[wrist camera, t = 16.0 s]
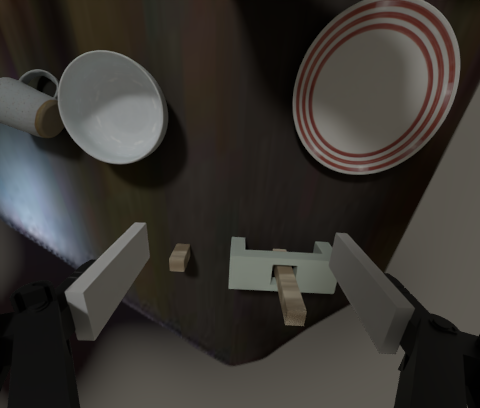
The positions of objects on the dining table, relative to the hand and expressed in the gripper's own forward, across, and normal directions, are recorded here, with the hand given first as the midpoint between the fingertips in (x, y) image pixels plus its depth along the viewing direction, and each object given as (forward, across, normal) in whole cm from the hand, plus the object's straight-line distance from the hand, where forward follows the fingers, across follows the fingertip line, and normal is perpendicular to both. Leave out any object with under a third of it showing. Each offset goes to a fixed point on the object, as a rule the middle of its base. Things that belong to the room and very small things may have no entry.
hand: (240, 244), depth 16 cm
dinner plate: (+32, +22, +13) cm, 41 cm away
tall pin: (+32, +10, -21) cm, 39 cm away
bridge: (+31, +10, -21) cm, 39 cm away
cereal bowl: (+32, -21, +8) cm, 39 cm away
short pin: (+32, -12, -21) cm, 40 cm away
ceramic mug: (+32, -36, +9) cm, 49 cm away
